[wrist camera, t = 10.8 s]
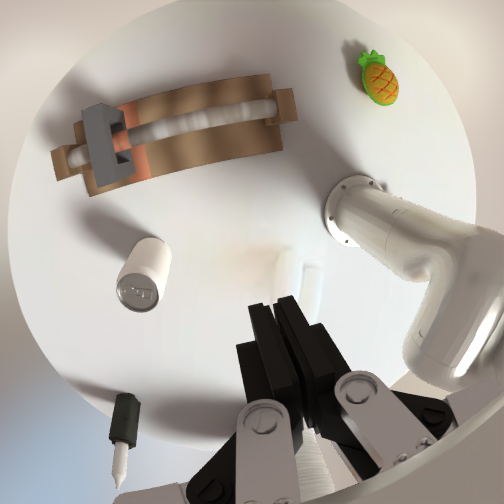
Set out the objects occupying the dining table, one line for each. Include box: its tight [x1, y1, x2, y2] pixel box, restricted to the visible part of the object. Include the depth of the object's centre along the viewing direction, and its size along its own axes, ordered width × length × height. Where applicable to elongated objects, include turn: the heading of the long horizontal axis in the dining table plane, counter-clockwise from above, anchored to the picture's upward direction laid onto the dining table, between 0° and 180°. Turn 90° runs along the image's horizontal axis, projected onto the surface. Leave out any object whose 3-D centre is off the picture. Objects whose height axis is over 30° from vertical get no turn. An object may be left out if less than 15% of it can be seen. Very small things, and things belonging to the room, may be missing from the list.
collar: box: [81, 103, 136, 188], centre depth 28 cm, size 2×9×9 cm, turn 10°
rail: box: [50, 74, 298, 197], centre depth 32 cm, size 30×12×10 cm, turn 100°
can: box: [116, 238, 171, 312], centre depth 37 cm, size 6×6×12 cm
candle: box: [109, 393, 141, 490], centre depth 43 cm, size 5×5×25 cm
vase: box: [295, 417, 336, 503], centre depth 50 cm, size 20×20×34 cm
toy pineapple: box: [357, 50, 399, 106], centre depth 34 cm, size 7×10×5 cm
